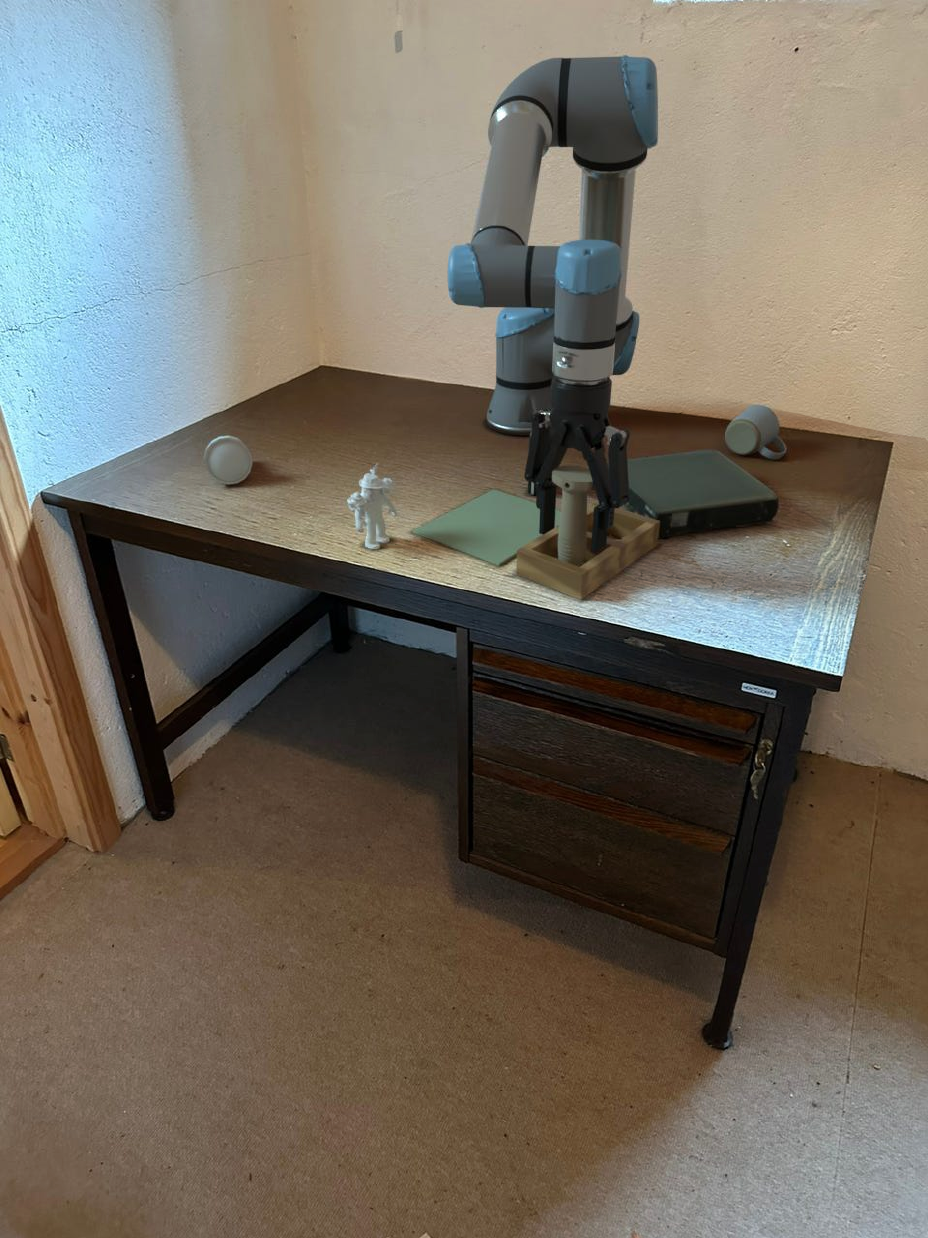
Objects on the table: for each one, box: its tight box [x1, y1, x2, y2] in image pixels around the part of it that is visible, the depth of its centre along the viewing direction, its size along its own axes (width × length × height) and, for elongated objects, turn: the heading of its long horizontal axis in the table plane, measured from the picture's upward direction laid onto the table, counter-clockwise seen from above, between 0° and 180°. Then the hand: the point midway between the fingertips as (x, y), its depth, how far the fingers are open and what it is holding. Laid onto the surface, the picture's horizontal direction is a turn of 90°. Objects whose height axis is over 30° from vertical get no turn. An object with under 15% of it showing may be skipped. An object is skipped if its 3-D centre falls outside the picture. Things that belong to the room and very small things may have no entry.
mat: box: [412, 488, 561, 567], centre depth 134 cm, size 20×17×1 cm
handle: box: [552, 465, 595, 567], centre depth 118 cm, size 5×6×15 cm
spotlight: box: [203, 435, 253, 486], centre depth 152 cm, size 8×11×8 cm
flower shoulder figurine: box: [346, 461, 398, 550], centre depth 127 cm, size 9×4×12 cm, turn 144°
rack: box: [515, 501, 660, 601], centre depth 124 cm, size 20×11×4 cm, turn 140°
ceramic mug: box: [724, 404, 788, 461], centre depth 156 cm, size 11×8×8 cm
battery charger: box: [527, 424, 556, 495], centre depth 143 cm, size 7×4×11 cm, turn 162°
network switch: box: [607, 448, 780, 539], centre depth 138 cm, size 23×24×5 cm
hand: (572, 539), depth 119 cm, fingers open, 8 cm apart
